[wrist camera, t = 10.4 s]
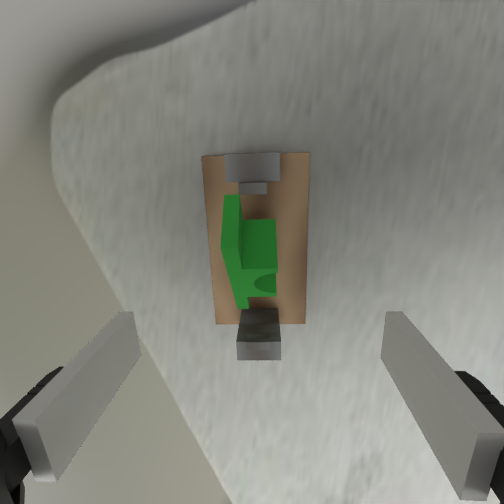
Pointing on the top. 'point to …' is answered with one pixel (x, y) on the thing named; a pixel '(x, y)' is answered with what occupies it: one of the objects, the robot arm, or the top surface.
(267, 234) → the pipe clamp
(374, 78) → the top surface
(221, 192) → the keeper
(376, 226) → the top surface
